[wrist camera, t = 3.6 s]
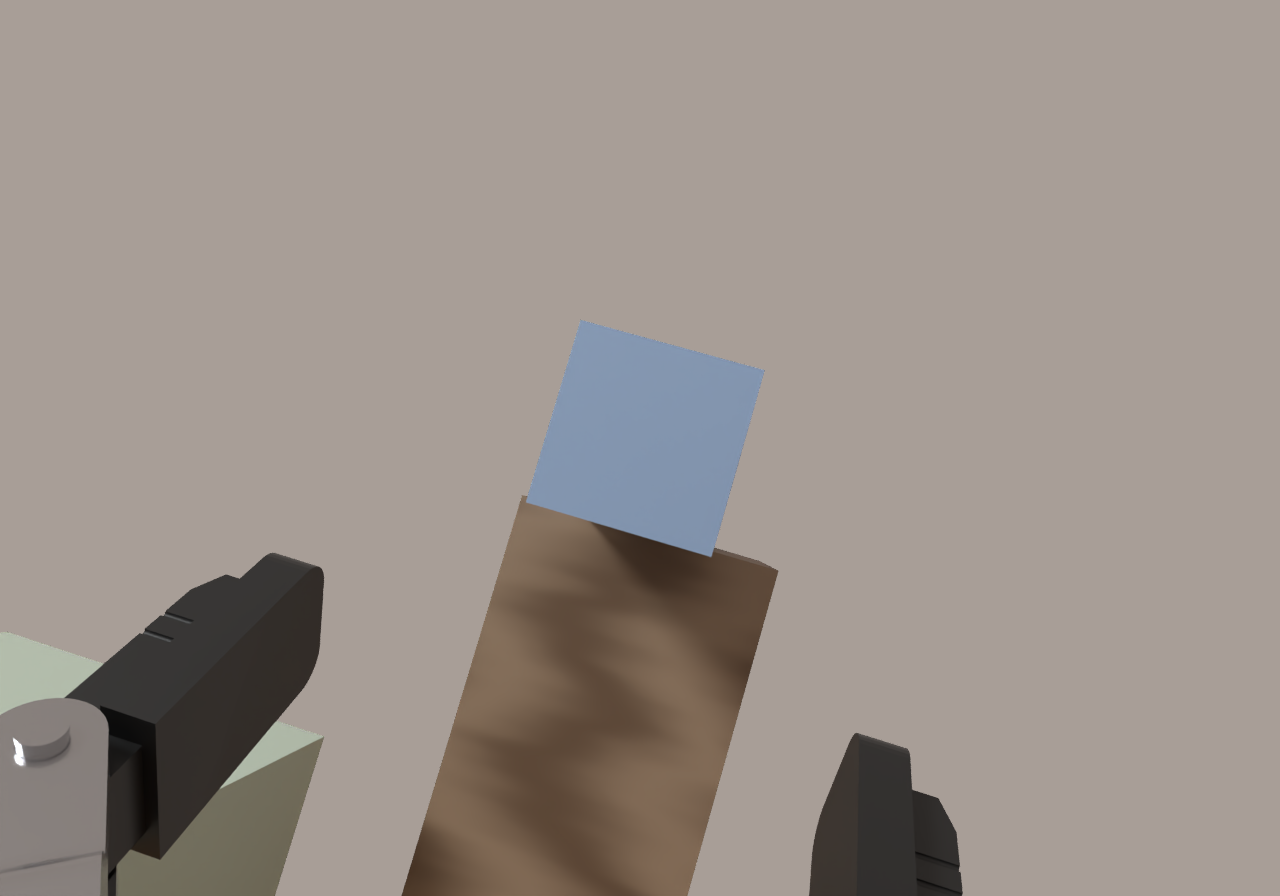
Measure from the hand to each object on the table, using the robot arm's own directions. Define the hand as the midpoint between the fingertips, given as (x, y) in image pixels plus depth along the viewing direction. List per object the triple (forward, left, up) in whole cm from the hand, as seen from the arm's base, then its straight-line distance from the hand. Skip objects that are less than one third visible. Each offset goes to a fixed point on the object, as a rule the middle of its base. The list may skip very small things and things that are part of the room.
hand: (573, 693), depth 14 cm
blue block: (-1, +18, +2) cm, 18 cm away
